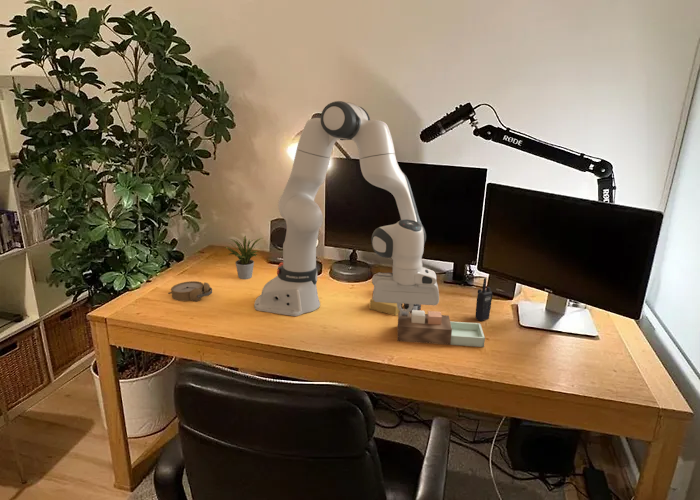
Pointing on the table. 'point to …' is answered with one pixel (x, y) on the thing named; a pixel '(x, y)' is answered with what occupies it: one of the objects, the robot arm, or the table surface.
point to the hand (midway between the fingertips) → (404, 315)
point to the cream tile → (418, 316)
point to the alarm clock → (190, 291)
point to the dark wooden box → (424, 330)
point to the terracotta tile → (434, 317)
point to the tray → (467, 334)
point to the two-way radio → (483, 303)
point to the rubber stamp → (385, 307)
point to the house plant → (244, 259)
